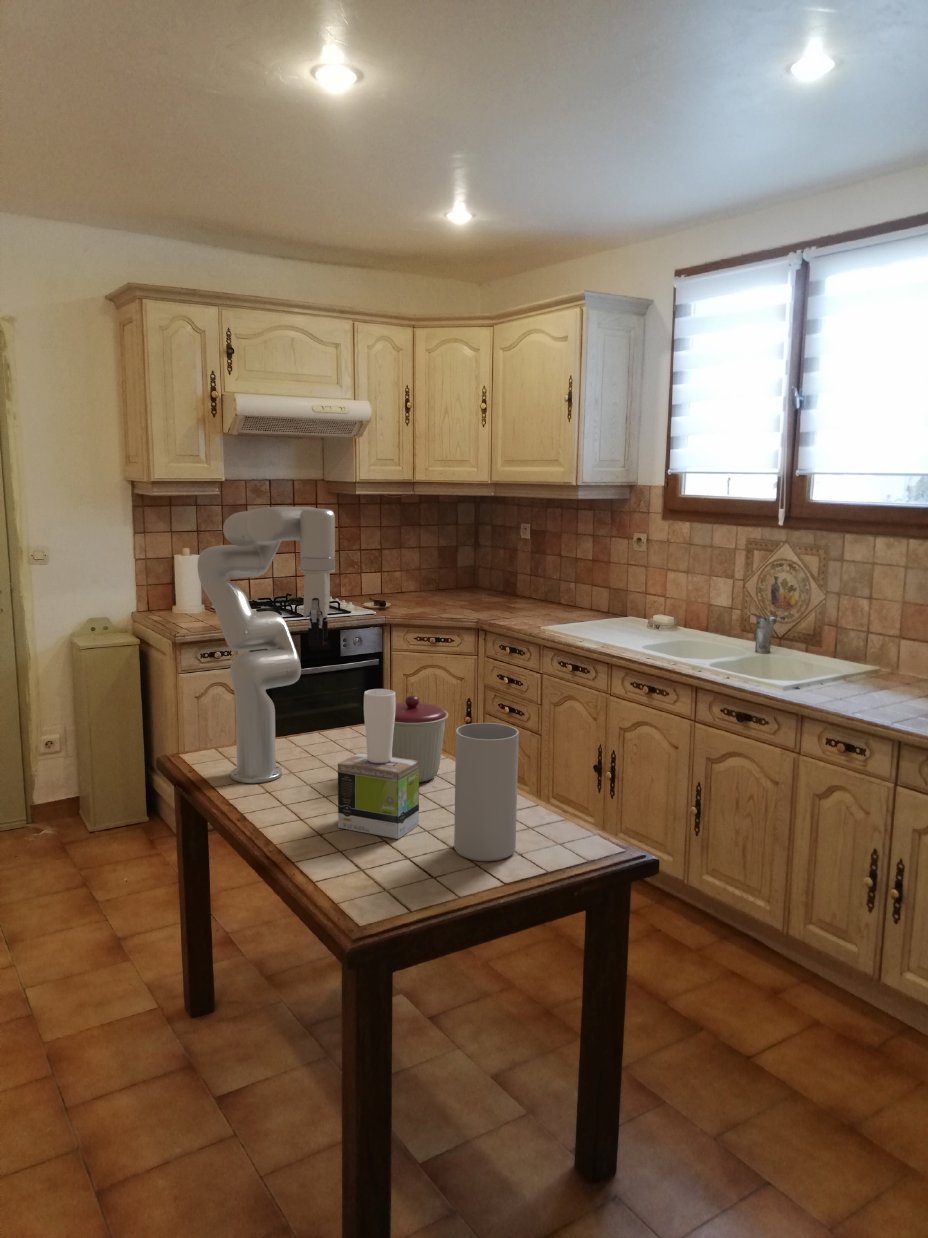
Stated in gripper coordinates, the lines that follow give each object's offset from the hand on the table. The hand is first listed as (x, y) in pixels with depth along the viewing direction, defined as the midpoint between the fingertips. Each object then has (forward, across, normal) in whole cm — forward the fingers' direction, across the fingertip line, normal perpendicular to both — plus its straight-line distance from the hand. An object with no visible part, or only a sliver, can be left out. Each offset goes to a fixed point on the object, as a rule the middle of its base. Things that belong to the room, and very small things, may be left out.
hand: (318, 642), depth 200 cm
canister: (+38, -21, +21) cm, 49 cm away
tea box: (+39, +12, +14) cm, 43 cm away
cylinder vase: (+38, +25, +36) cm, 58 cm away
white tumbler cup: (+24, +12, +14) cm, 30 cm away
